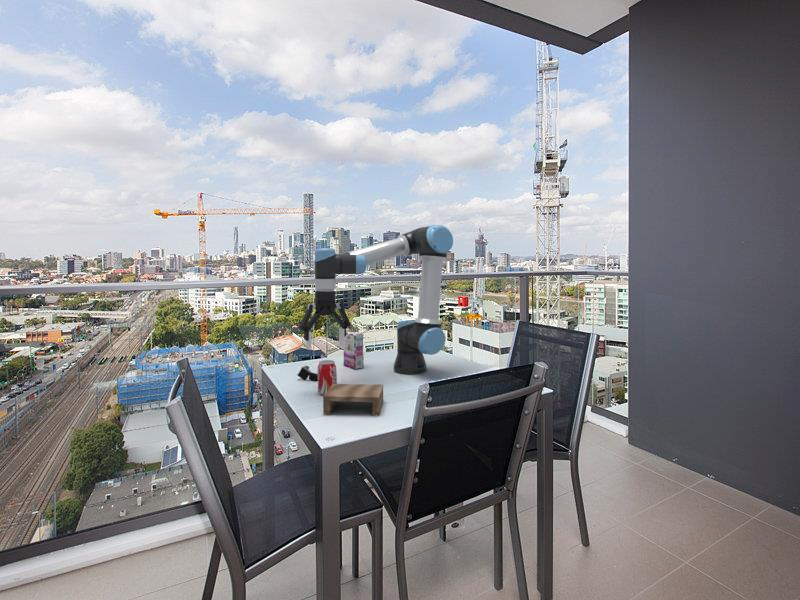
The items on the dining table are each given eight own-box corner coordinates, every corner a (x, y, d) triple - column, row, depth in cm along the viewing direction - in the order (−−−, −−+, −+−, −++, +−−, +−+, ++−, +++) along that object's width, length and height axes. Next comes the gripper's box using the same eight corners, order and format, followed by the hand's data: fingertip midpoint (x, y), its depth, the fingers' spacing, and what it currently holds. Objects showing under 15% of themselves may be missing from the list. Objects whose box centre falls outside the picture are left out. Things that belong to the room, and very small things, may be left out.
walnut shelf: (383, 401, 144) (383, 384, 143) (378, 415, 130) (378, 397, 130) (333, 400, 145) (332, 383, 145) (323, 414, 131) (323, 396, 131)
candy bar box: (364, 368, 190) (363, 333, 188) (355, 370, 187) (354, 335, 185) (352, 364, 199) (351, 330, 197) (343, 365, 196) (342, 331, 194)
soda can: (328, 397, 148) (327, 365, 147) (313, 394, 152) (313, 362, 151) (340, 392, 154) (340, 361, 153) (326, 389, 158) (326, 358, 157)
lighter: (315, 385, 172) (322, 375, 171) (313, 387, 169) (320, 376, 168) (299, 373, 173) (305, 363, 172) (297, 375, 171) (303, 364, 170)
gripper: (349, 289, 160) (349, 342, 162) (288, 290, 145) (289, 349, 147) (359, 289, 155) (359, 345, 156) (297, 292, 139) (298, 352, 141)
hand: (325, 347), depth 152 cm, fingers open, 13 cm apart
